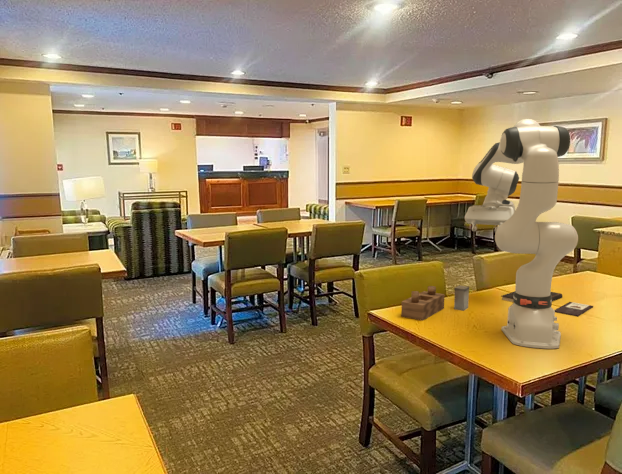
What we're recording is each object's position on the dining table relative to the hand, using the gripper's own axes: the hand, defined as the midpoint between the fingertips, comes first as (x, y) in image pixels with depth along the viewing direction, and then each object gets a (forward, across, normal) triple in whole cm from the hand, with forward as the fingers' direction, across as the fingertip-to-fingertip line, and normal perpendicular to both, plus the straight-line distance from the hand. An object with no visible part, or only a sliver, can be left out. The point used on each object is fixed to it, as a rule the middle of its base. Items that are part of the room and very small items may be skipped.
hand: (484, 231), depth 197 cm
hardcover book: (+8, +15, +38) cm, 41 cm away
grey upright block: (+30, -4, +14) cm, 34 cm away
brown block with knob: (+41, -15, +4) cm, 43 cm away
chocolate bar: (+13, +32, +32) cm, 47 cm away
